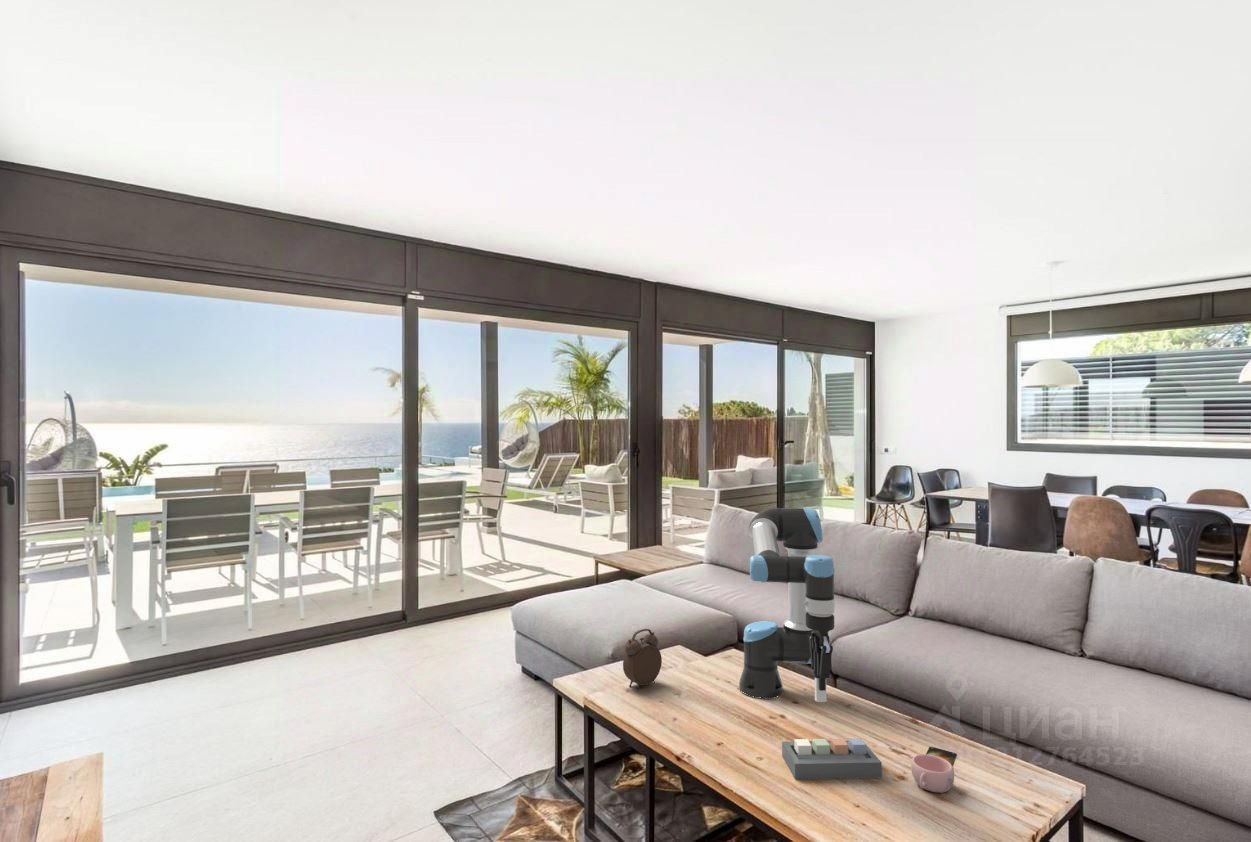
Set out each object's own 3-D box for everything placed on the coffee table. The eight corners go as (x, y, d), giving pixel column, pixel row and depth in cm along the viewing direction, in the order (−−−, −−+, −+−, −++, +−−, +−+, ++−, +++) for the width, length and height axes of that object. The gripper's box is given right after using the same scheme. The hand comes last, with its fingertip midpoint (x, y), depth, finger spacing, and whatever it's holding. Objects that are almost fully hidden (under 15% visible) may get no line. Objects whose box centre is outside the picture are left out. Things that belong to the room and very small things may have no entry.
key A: (848, 747, 172) (848, 738, 172) (861, 747, 173) (861, 738, 173) (853, 753, 169) (853, 744, 169) (866, 753, 169) (866, 744, 169)
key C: (812, 747, 172) (812, 739, 172) (825, 747, 172) (825, 738, 172) (816, 754, 168) (816, 745, 169) (829, 754, 169) (829, 745, 169)
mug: (921, 772, 168) (921, 749, 168) (960, 787, 160) (960, 763, 160) (900, 788, 160) (900, 765, 160) (941, 805, 152) (941, 780, 152)
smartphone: (957, 753, 177) (948, 775, 165) (957, 755, 177) (948, 778, 165) (929, 745, 181) (918, 767, 169) (929, 748, 181) (918, 769, 169)
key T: (830, 747, 172) (830, 738, 172) (843, 747, 172) (843, 738, 172) (835, 754, 169) (835, 745, 169) (848, 754, 169) (848, 744, 169)
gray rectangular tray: (782, 756, 176) (782, 741, 176) (862, 754, 177) (862, 740, 177) (795, 779, 164) (794, 763, 164) (881, 777, 165) (881, 762, 165)
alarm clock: (649, 677, 234) (649, 623, 235) (663, 683, 229) (663, 627, 229) (619, 687, 225) (619, 630, 225) (632, 693, 219) (632, 635, 220)
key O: (794, 748, 172) (794, 739, 172) (807, 748, 172) (807, 739, 172) (798, 754, 168) (798, 745, 168) (811, 754, 168) (811, 745, 168)
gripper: (798, 607, 178) (799, 691, 177) (814, 620, 165) (815, 711, 164) (825, 606, 178) (825, 690, 177) (842, 619, 165) (843, 710, 164)
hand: (820, 700), depth 171 cm, fingers closed
